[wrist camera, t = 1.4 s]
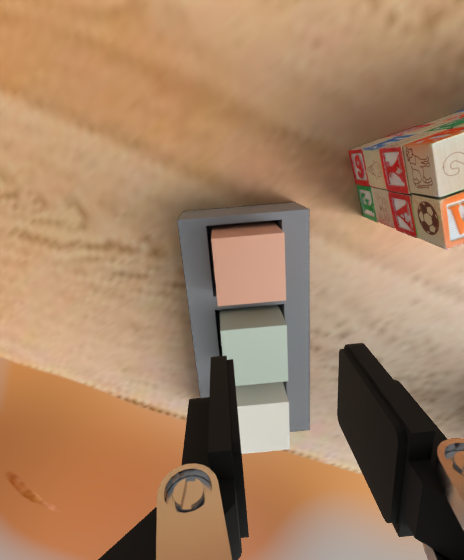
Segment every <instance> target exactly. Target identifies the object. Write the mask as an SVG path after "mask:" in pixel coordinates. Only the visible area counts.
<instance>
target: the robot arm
mask: <svg viewBox="0 0 464 560" xmlns="http://www.w3.org/2000/svg"><path fill="white" fill-rule="evenodd" d="M337 416H338V421H339V424H340V427H341V429H342V431H343V433H344V435H345V437H346V439H347V442H348V444H349V446H350V448H351V450H352V452H353V454H354V456H355V458H356V461H357V463H358V465H359V467H360V469H361V471H362V473H363V475H364V477H365V480H366V482H367V484H368V486H369V488H370V490H371V492H372V494H373V497H374V499H375V501H376V503H377V505H378V507H379V509H380V511H381V514H382V516H383V518H384V519H385V521H386V522H387V523H392V524H393V526H394V528H395V530H396V532H397V533H398V536H399V537H403V536H414V537H415V538H416V539H417V540H419V541H421V542H422V543H423V546H424V550H425V553H426V556H427V558H428V560H464V439H460V438H452V439H447V438H446V437H445V436H444V434H443V433H442V432H441V431H440V430H439V428H438V427H437V426H436V425H435V424H434V422H433V421H432V420H431V419H430V418H429V416H428V415H427V414H426V413H425V412H424V411H423V409H422V408H421V407H420V406H419V405H418V403H417V402H416V401H415V400H414V399H413V397H412V396H411V395H410V394H409V393H408V391H407V390H406V389H405V388H404V387H403V385H402V384H401V383H400V382H399V381H397V380H393V379H392V377H391V376H390V375H389V374H388V373H387V371H386V370H385V369H384V368H383V366H382V365H381V364H380V363H379V362H378V360H377V359H376V358H375V357H374V355H373V354H372V353H371V352H370V351H369V349H368V348H367V347H366V346H365V345H364V344H363V343H357V344H347V345H345V347H344V349H341V350H340V352H339V377H338V409H337ZM241 455H242V454H241V442H240V431H239V420H238V408H237V397H236V385H235V374H234V363H233V359H230V360H227V355H226V356H215V357H211V361H210V396H209V397H205V398H195V399H190V400H189V405H188V414H187V423H186V432H185V440H184V449H183V458H182V466H179V467H177V468H175V469H174V470H172V471H171V472H169V474H168V475H167V476H166V477H165V478H164V479H163V480H162V482H161V484H160V486H159V488H158V494H157V507H156V508H155V509H154V510H152V511H151V512H150V513H149V514H148V515H147V516H146V517H145V518H144V519H143V520H141V521H140V522H139V523H138V524H137V525H136V526H135V527H134V528H133V529H132V530H130V531H129V532H128V533H127V534H126V535H125V536H124V537H123V538H122V539H121V540H120V541H118V542H117V543H116V544H115V545H114V546H113V547H112V548H111V549H109V550H108V551H107V552H106V553H105V554H104V555H103V556H102V557H101V558H100V559H98V560H238V559H239V558H240V556H241V553H242V548H241V538H244V537H249V534H248V523H247V511H246V500H245V489H244V477H243V465H242V456H241Z"/></svg>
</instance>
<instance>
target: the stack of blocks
mask: <svg viewBox="0 0 464 560" xmlns="http://www.w3.org/2000/svg"><path fill="white" fill-rule="evenodd" d="M349 155H350V159H351V164H352V169H353V173H354V178H355V182H356V185H357V189H358V193H359V198H360V203H361V208H362V213H363V216H364V217H366V218H368V219H370V220H373V221H375V222H380V223H382V224H385V225H387V226H389V227H392V228H396V230H398V231H400V232H402V233H405V234H408V235H410V236H412V237H415V238H420V239H422V240H425V241H427V242H429V243H431V244H434V245H436V246H439V247H441V248H444V249H450V248H453V247H456V246H459V245H462V244H464V110H461V111H458V112H456V113H454V114H451V115H448V116H445V117H442V118H440V119H437V120H434V121H431V122H429V123H426V124H423V125H420V126H415V127H413V128H410V129H407V130H404V131H401V132H398V133H396V134H393V135H390V136H387V137H384V138H381V139H378V140H375V141H372V142H369V143H366V144H364V145H361V146H358V147H355V148H352V149H350V150H349Z"/></svg>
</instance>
